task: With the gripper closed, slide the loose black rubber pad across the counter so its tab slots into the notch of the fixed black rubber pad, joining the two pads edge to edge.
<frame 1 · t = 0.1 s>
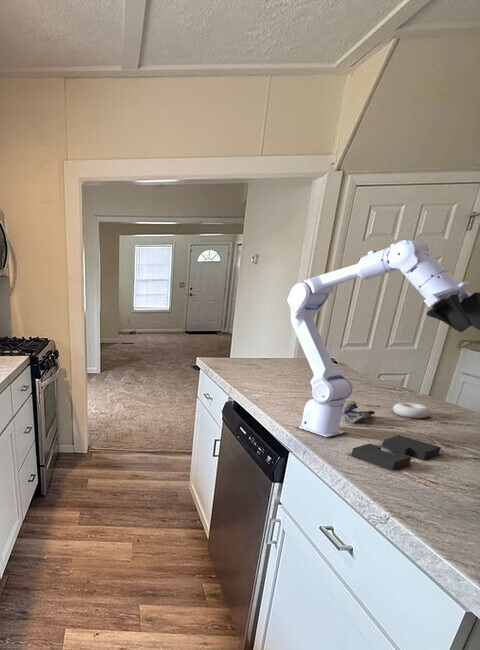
hand: (475, 327, 84), 32 cm above the countertop, tool tilted 50°, fingers open, 7 cm apart
tab pad: (409, 450, 105), on the countertop
snack package: (355, 419, 130), on the countertop
base pad: (379, 459, 100), on the countertop
donut: (409, 415, 133), on the countertop
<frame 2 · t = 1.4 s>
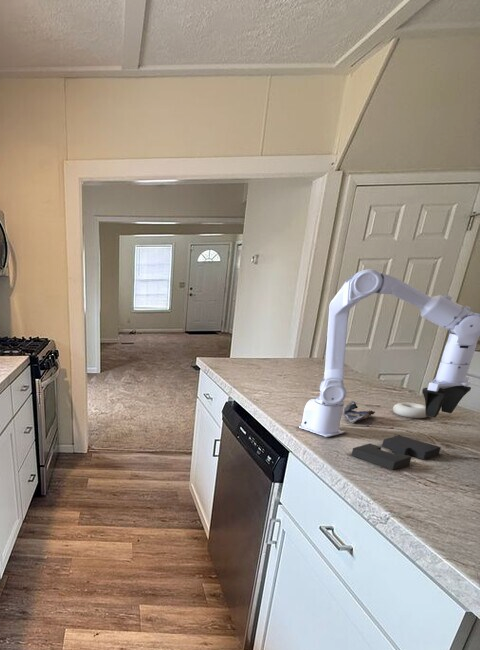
hand: (438, 414, 106), 9 cm above the countertop, tool pointing down, fingers open, 7 cm apart
nothing on the countertop moved.
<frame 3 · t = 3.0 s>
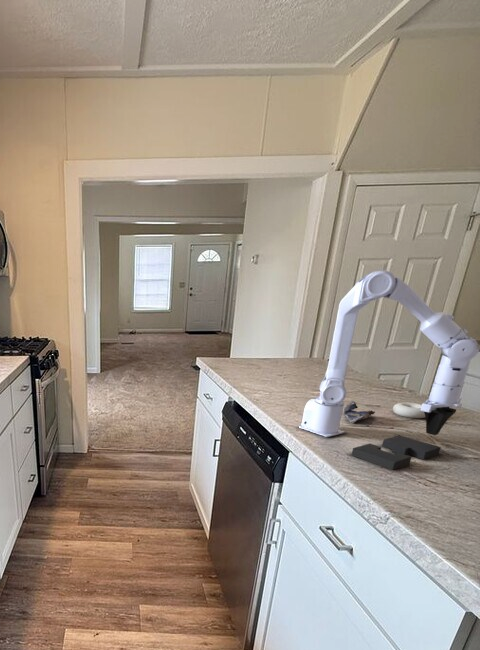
hand: (431, 433, 108), 3 cm above the countertop, tool pointing down, fingers closed
nothing on the countertop moved.
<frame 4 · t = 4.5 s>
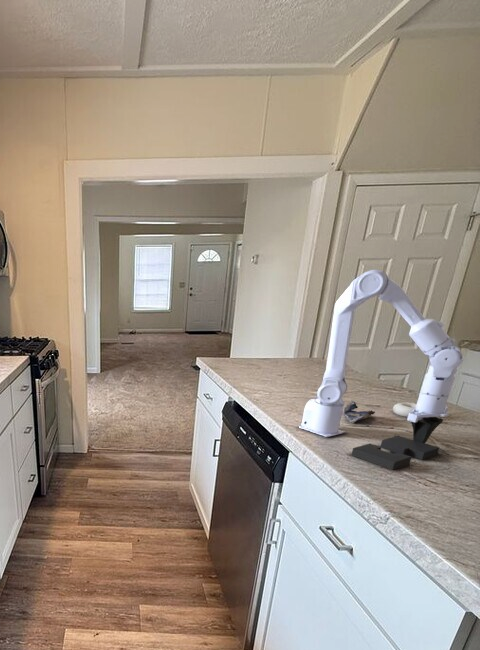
hand: (418, 443, 106), 1 cm above the countertop, tool pointing down, fingers closed
tab pad: (408, 450, 105), on the countertop, touching gripper
everything else where it was.
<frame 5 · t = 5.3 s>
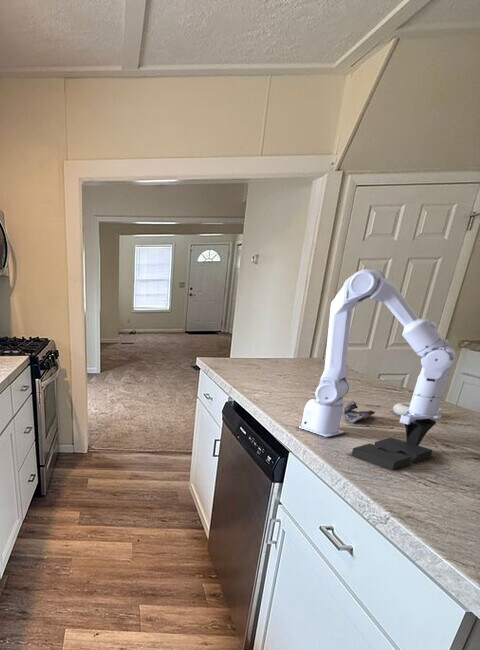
hand: (411, 445, 105), 1 cm above the countertop, tool pointing down, fingers closed
tab pad: (401, 452, 104), on the countertop, touching gripper
everything else where it was.
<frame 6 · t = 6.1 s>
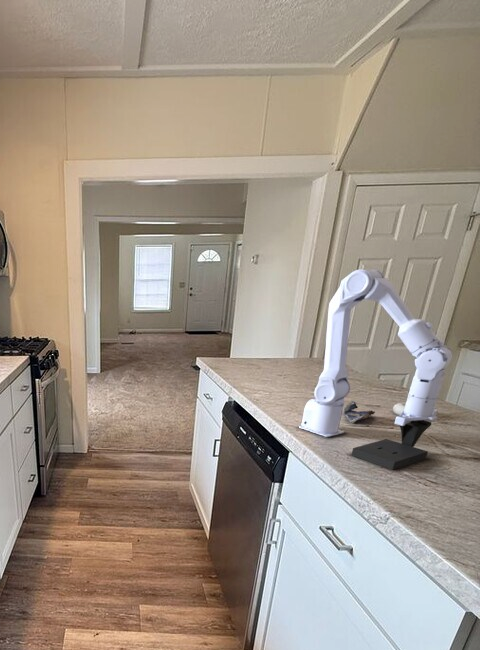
hand: (407, 447, 104), 1 cm above the countertop, tool pointing down, fingers closed
tab pad: (396, 454, 103), on the countertop, touching base pad, gripper
everything else where it was.
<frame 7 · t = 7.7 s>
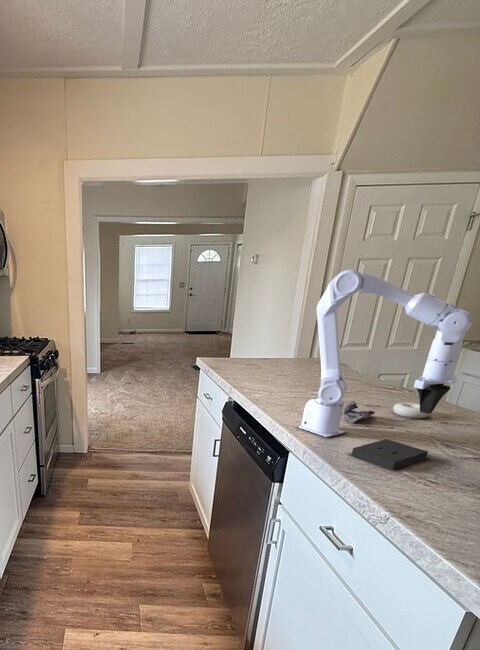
hand: (425, 412, 104), 9 cm above the countertop, tool pointing down, fingers closed
tab pad: (396, 454, 103), on the countertop, touching base pad
everything else where it was.
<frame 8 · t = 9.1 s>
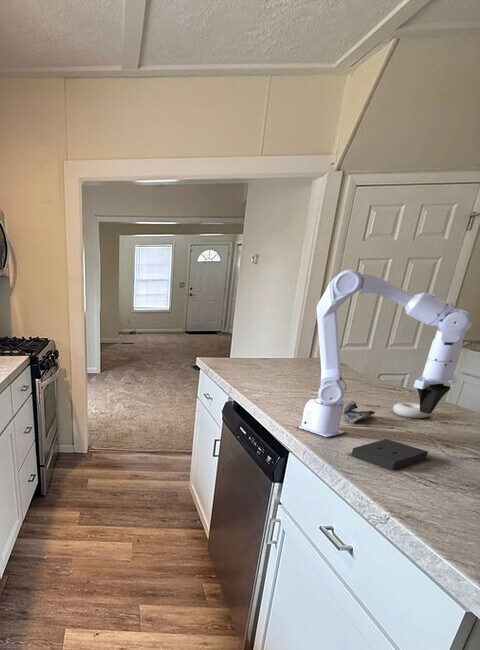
hand: (425, 412, 104), 9 cm above the countertop, tool pointing down, fingers closed
nothing on the countertop moved.
at the end: tab pad 0.1 cm from the target spot on the countertop beside the base pad, on the countertop; tab pad touching base pad, countertop; tab pad tilted 0° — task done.
